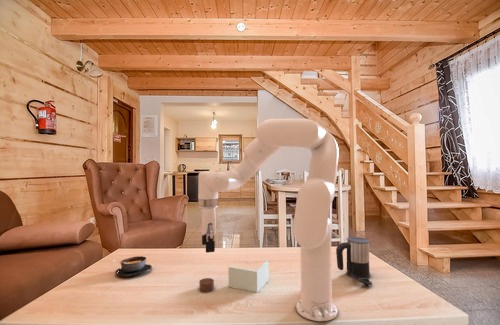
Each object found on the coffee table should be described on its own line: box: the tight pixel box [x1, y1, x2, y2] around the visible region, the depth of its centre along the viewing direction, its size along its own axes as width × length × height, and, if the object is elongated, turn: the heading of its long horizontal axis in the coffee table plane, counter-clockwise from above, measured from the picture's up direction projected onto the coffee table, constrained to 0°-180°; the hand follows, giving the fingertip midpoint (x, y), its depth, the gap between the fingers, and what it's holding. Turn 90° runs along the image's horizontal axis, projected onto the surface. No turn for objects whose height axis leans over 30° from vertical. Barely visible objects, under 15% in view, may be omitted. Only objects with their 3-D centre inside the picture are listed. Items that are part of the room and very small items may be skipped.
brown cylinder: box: [198, 277, 215, 293], centre depth 100 cm, size 5×5×3 cm
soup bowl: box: [111, 255, 153, 278], centre depth 117 cm, size 15×16×7 cm
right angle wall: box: [227, 260, 270, 293], centre depth 105 cm, size 12×12×8 cm
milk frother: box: [335, 236, 373, 287], centre depth 108 cm, size 14×16×15 cm
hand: (208, 248), depth 101 cm, fingers open, 9 cm apart
